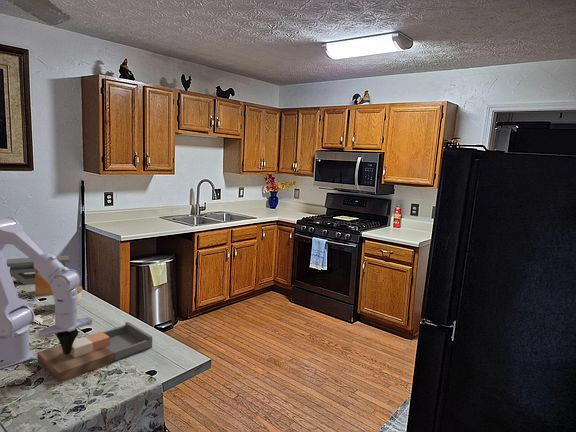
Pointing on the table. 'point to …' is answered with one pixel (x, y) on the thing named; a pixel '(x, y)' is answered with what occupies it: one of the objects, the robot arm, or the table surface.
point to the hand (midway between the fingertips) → (66, 352)
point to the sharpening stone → (28, 268)
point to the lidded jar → (79, 294)
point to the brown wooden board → (72, 362)
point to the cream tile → (81, 347)
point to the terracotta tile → (99, 340)
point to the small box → (42, 285)
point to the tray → (128, 341)
